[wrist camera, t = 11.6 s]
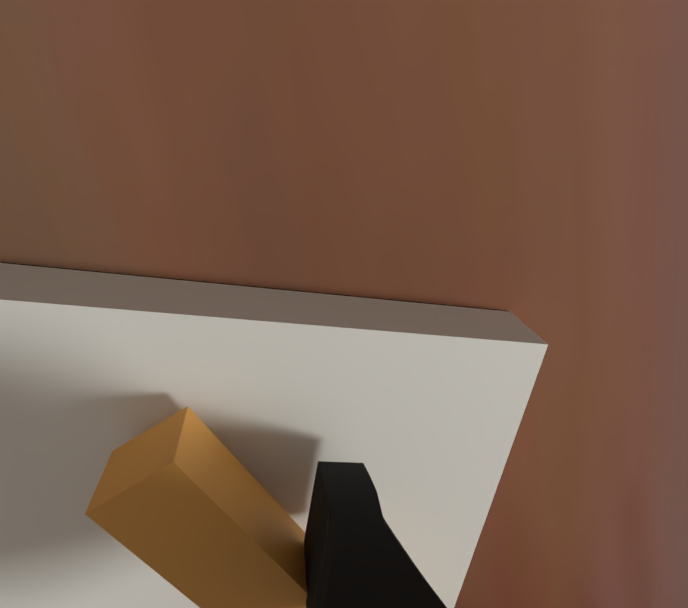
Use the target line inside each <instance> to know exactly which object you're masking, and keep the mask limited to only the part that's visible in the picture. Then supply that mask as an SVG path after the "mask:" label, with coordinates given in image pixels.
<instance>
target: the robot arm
mask: <svg viewBox="0 0 688 608" xmlns="http://www.w3.org/2000/svg"><path fill="white" fill-rule="evenodd" d="M304 556H305V570H306V583H307V593H308V594H307V599H306V608H447V607H446V606H445V604H444V603H443V602H442V600H441V599H440V598H439V596H438V595H437V594H436V593H435V591H434V590H433V589H432V587H431V586H430V585H429V583H428V582H427V581H426V579H425V578H424V576H423V575H422V574H421V572H420V571H419V569H418V568H417V567H416V565H415V564H414V562H413V561H412V559H411V558H410V556H409V555H408V554H407V552H406V551H405V549H404V548H403V546H402V545H401V543H400V542H399V540H398V539H397V537H396V536H395V535H394V533H393V531H392V530H391V528H390V527H389V525H388V524H387V522H386V521H385V519H384V517H383V515H382V511H381V506H380V502H379V498H378V494H377V491H376V488H375V486H374V484H373V482H372V479H371V477H370V475H369V473H368V471H367V469H366V467H365V465H364V463H354V462H325V461H318V463H317V469H316V475H315V480H314V486H313V492H312V497H311V503H310V509H309V514H308V520H307V526H306V531H305V537H304Z"/></svg>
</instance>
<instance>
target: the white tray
mask: <svg viewBox="0 0 688 608" xmlns="http://www.w3.org/2000/svg"><path fill="white" fill-rule="evenodd" d="M547 346H548V344H547V343H546V342H545V341H544V340H542V339H541V338H540V337H539V336H538V335H537V334H535V333H534V332H533V331H532V330H531V329H530V328H528V327H527V326H526V325H525V324H524V323H523V322H522V321H520V320H519V319H518V318H517V317H516V316H515V315H513V314H512V313H511V312H508V311H498V310H487V309H477V308H466V307H456V306H445V305H435V304H424V303H414V302H403V301H393V300H383V299H372V298H362V297H351V296H341V295H330V294H320V293H309V292H299V291H289V290H278V289H268V288H257V287H247V286H236V285H226V284H215V283H205V282H195V281H184V280H174V279H163V278H153V277H142V276H132V275H121V274H111V273H100V272H90V271H80V270H69V269H59V268H48V267H38V266H27V265H17V264H6V263H0V608H200V607H198V606H197V605H196V604H195V603H193V602H192V601H191V600H190V599H189V598H187V597H186V596H185V595H184V594H182V593H181V592H180V591H179V590H177V589H176V588H175V587H174V586H173V585H171V584H170V583H169V582H168V581H166V580H165V579H164V578H163V577H162V576H160V575H159V574H158V573H157V572H155V571H154V570H153V569H152V568H150V567H149V566H148V565H147V564H146V563H144V562H143V561H142V560H141V559H139V558H138V557H137V556H136V555H135V554H133V553H132V552H131V551H130V550H128V549H127V548H126V547H125V546H123V545H122V544H121V543H120V542H119V541H117V540H116V539H115V538H114V537H112V536H111V535H110V534H109V533H108V532H106V531H105V530H104V529H103V528H101V527H100V526H99V525H98V524H96V523H95V522H94V521H93V520H92V519H90V518H89V517H88V516H87V515H85V512H86V510H87V508H88V505H89V503H90V501H91V499H92V496H93V494H94V492H95V490H96V487H97V485H98V483H99V480H100V478H101V476H102V474H103V471H104V469H105V467H106V465H107V462H108V460H109V458H110V455H111V453H112V451H113V450H115V449H117V448H118V447H120V446H122V445H123V444H125V443H127V442H128V441H130V440H132V439H134V438H135V437H137V436H139V435H140V434H142V433H144V432H145V431H147V430H149V429H150V428H152V427H154V426H155V425H157V424H159V423H160V422H162V421H164V420H165V419H167V418H169V417H171V416H172V415H174V414H176V413H177V412H179V411H181V410H182V409H184V408H186V407H187V406H188V407H189V408H190V409H191V410H192V411H193V412H194V413H195V414H196V416H197V417H198V418H199V419H200V420H201V421H202V422H203V423H204V424H205V425H206V426H207V427H208V428H209V430H210V431H211V432H212V433H213V434H214V435H215V436H216V437H217V438H218V439H219V440H220V441H221V442H222V444H223V445H224V446H225V447H226V448H227V449H228V450H229V451H230V452H231V453H232V454H233V455H234V456H235V458H236V459H237V460H238V461H239V462H240V463H241V464H242V465H243V466H244V467H245V468H246V469H247V470H248V472H249V473H250V474H251V475H252V476H253V477H254V478H255V479H256V480H257V481H258V482H259V483H260V484H261V486H262V487H263V488H264V489H265V490H266V491H267V492H268V493H269V494H270V495H271V496H272V497H273V498H274V500H275V501H276V502H277V503H278V504H279V505H280V506H281V507H282V508H283V509H284V510H285V511H286V512H287V514H288V515H289V516H290V517H291V518H292V519H293V520H294V521H295V522H296V523H297V524H298V525H299V526H300V528H301V529H302V530H303V531H304V532H305V531H306V526H307V520H308V514H309V509H310V503H311V497H312V492H313V486H314V480H315V475H316V469H317V463H318V461H325V462H354V463H364V465H365V467H366V469H367V471H368V473H369V475H370V477H371V479H372V482H373V484H374V486H375V488H376V491H377V494H378V498H379V502H380V506H381V511H382V515H383V517H384V519H385V521H386V522H387V524H388V525H389V527H390V528H391V530H392V531H393V533H394V535H395V536H396V537H397V539H398V540H399V542H400V543H401V545H402V546H403V548H404V549H405V551H406V552H407V554H408V555H409V556H410V558H411V559H412V561H413V562H414V564H415V565H416V567H417V568H418V569H419V571H420V572H421V574H422V575H423V576H424V578H425V579H426V581H427V582H428V583H429V585H430V586H431V587H432V589H433V590H434V591H435V593H436V594H437V595H438V596H439V598H440V599H441V600H442V602H443V603H444V604H445V606H446V607H447V608H454V606H455V603H456V601H457V598H458V595H459V592H460V589H461V587H462V584H463V581H464V578H465V575H466V573H467V570H468V567H469V564H470V561H471V559H472V556H473V553H474V550H475V547H476V545H477V542H478V539H479V536H480V533H481V531H482V528H483V525H484V522H485V520H486V517H487V514H488V511H489V508H490V506H491V503H492V500H493V497H494V494H495V492H496V489H497V486H498V483H499V480H500V478H501V475H502V472H503V469H504V466H505V464H506V461H507V458H508V455H509V452H510V450H511V447H512V444H513V441H514V438H515V436H516V433H517V430H518V427H519V425H520V422H521V419H522V416H523V413H524V411H525V408H526V405H527V402H528V399H529V397H530V394H531V391H532V388H533V385H534V383H535V380H536V377H537V374H538V371H539V369H540V366H541V363H542V360H543V357H544V355H545V352H546V349H547Z"/></svg>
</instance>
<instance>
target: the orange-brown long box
mask: <svg viewBox="0 0 688 608" xmlns="http://www.w3.org/2000/svg"><path fill="white" fill-rule="evenodd" d="M85 515H87V516H88V517H89V518H90V519H92V520H93V521H94V522H95V523H96V524H98V525H99V526H100V527H101V528H103V529H104V530H105V531H106V532H108V533H109V534H110V535H111V536H112V537H114V538H115V539H116V540H117V541H119V542H120V543H121V544H122V545H123V546H125V547H126V548H127V549H128V550H130V551H131V552H132V553H133V554H135V555H136V556H137V557H138V558H139V559H141V560H142V561H143V562H144V563H146V564H147V565H148V566H149V567H150V568H152V569H153V570H154V571H155V572H157V573H158V574H159V575H160V576H162V577H163V578H164V579H165V580H166V581H168V582H169V583H170V584H171V585H173V586H174V587H175V588H176V589H177V590H179V591H180V592H181V593H182V594H184V595H185V596H186V597H187V598H189V599H190V600H191V601H192V602H193V603H195V604H196V605H197V606H198V607H200V608H306V599H307V594H308V593H307V583H306V570H305V556H304V537H305V532H304V531H303V530H302V529H301V528H300V526H299V525H298V524H297V523H296V522H295V521H294V520H293V519H292V518H291V517H290V516H289V515H288V514H287V512H286V511H285V510H284V509H283V508H282V507H281V506H280V505H279V504H278V503H277V502H276V501H275V500H274V498H273V497H272V496H271V495H270V494H269V493H268V492H267V491H266V490H265V489H264V488H263V487H262V486H261V484H260V483H259V482H258V481H257V480H256V479H255V478H254V477H253V476H252V475H251V474H250V473H249V472H248V470H247V469H246V468H245V467H244V466H243V465H242V464H241V463H240V462H239V461H238V460H237V459H236V458H235V456H234V455H233V454H232V453H231V452H230V451H229V450H228V449H227V448H226V447H225V446H224V445H223V444H222V442H221V441H220V440H219V439H218V438H217V437H216V436H215V435H214V434H213V433H212V432H211V431H210V430H209V428H208V427H207V426H206V425H205V424H204V423H203V422H202V421H201V420H200V419H199V418H198V417H197V416H196V414H195V413H194V412H193V411H192V410H191V409H190V408H189V407H188V406H187V407H186V408H184V409H182V410H181V411H179V412H177V413H176V414H174V415H172V416H171V417H169V418H167V419H165V420H164V421H162V422H160V423H159V424H157V425H155V426H154V427H152V428H150V429H149V430H147V431H145V432H144V433H142V434H140V435H139V436H137V437H135V438H134V439H132V440H130V441H128V442H127V443H125V444H123V445H122V446H120V447H118V448H117V449H115V450H113V451H112V453H111V455H110V458H109V460H108V462H107V465H106V467H105V469H104V471H103V474H102V476H101V478H100V480H99V483H98V485H97V487H96V490H95V492H94V494H93V496H92V499H91V501H90V503H89V505H88V508H87V510H86V512H85Z"/></svg>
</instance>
